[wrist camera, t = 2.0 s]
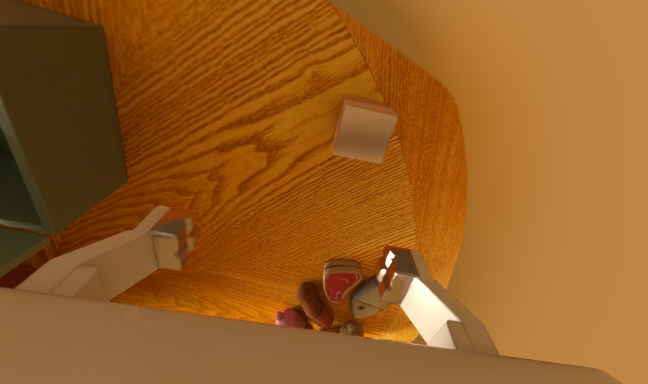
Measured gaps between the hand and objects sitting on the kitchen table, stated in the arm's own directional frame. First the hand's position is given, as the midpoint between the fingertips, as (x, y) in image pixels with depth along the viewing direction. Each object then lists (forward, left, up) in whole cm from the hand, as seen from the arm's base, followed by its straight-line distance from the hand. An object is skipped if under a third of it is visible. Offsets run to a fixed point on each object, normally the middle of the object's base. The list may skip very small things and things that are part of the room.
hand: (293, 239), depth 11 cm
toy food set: (+29, +8, -17) cm, 35 cm away
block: (-1, +4, -17) cm, 17 cm away
